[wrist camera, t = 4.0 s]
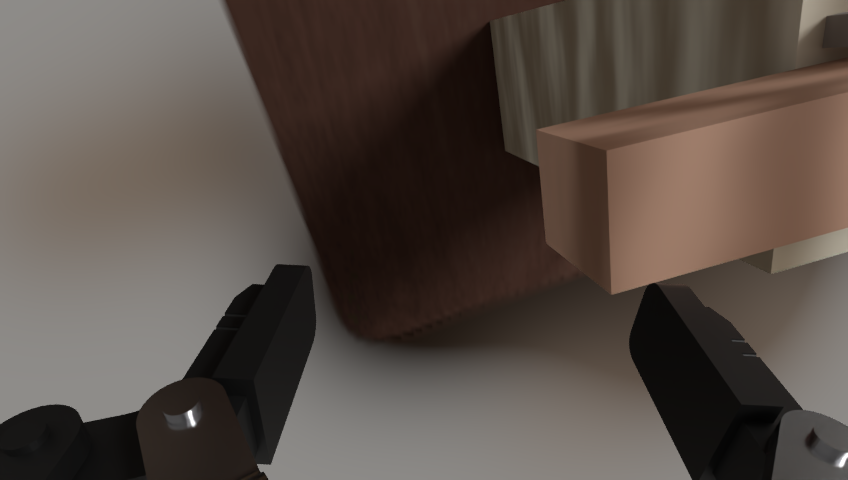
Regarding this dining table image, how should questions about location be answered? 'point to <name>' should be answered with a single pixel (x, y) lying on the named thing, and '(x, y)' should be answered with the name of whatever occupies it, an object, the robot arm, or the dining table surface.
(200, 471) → the robot arm
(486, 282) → the dining table surface
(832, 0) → the chevron patterned box
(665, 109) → the block
